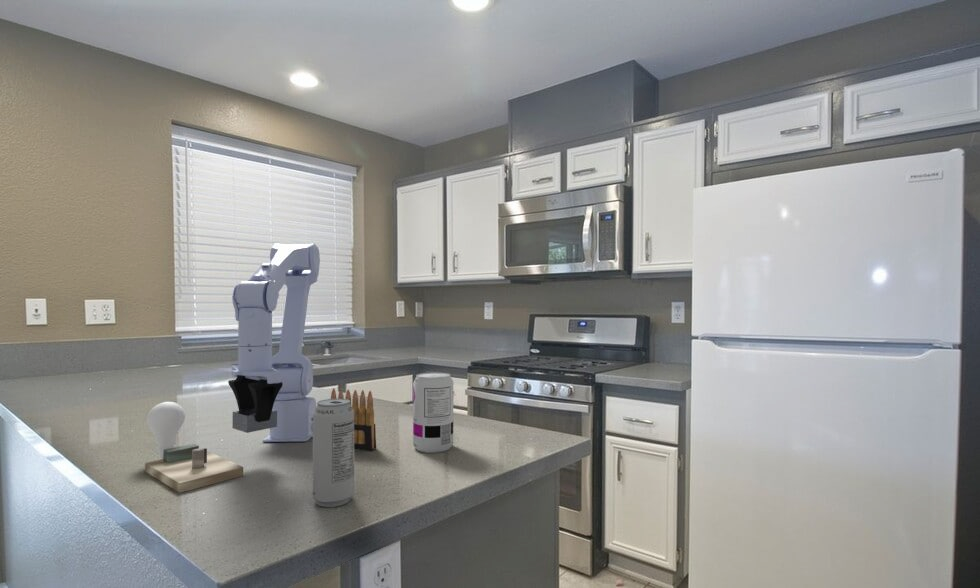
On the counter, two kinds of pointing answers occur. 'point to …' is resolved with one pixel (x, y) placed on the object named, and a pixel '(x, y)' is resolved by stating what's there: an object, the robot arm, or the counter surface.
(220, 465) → the stand
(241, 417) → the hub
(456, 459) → the counter surface
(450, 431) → the supplement can
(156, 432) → the lightbulb
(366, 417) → the ammunition clip
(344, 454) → the energy drink can
